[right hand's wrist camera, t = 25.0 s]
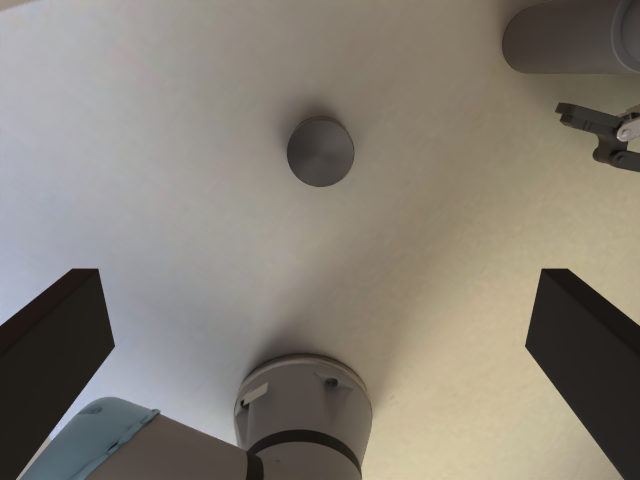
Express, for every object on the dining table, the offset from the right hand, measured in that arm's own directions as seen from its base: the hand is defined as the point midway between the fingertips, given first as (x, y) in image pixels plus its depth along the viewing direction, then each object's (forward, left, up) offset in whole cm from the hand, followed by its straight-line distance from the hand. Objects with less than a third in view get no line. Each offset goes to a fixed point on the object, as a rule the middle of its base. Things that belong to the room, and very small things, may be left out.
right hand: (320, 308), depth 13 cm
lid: (0, 0, -24) cm, 25 cm away
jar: (+3, -19, -26) cm, 33 cm away
